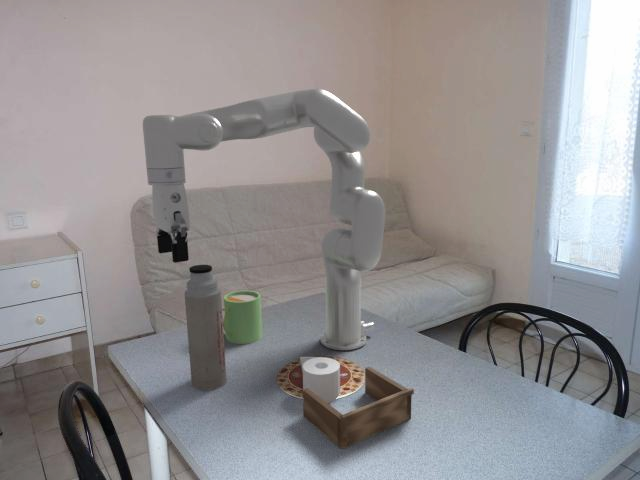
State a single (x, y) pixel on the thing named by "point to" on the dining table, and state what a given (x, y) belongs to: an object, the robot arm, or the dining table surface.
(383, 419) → the open wooden box
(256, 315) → the mug
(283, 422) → the dining table surface
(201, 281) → the thermos bottle
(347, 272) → the robot arm
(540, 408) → the dining table surface
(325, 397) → the toilet paper
